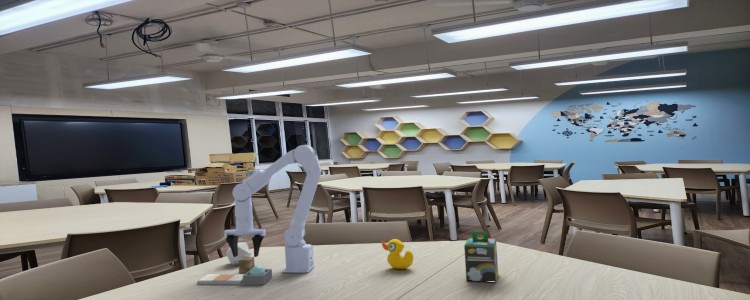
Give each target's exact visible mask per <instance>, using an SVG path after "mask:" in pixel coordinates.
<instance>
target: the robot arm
mask: <svg viewBox="0 0 750 300" xmlns="http://www.w3.org/2000/svg"><path fill="white" fill-rule="evenodd" d="M296 163H298V164H299V165H300V166H302V168H303V170H304V172H305V173H306V176H305V178H304V183H303V185H302V189H301V192H300V195H299V199H298V201H297V204H296V208H295V211H294V213H293V217H292V219H291V221H290V223H289V227H288V228H287V229H286V231H285V232H284V233H283V240H284V252H285V253H284V254H285V255H284V256H285V258H284V259H285V268H284V269H283V270H281V272H282V273H286V274H287V273H296V274H297V273H302V274H303V273H309V272H310V271H311V270H312V269H313V268H314V267H315V263H314V249H313V247H314V246H313V245H312V244H310V243H309V244H307V243H306V241H305V239H304V237H305V235H306V227H305V225H306V222H307V218H308V215H309V212H310V209H311V206H312V202H313V200H314V197H315V193H316V191H317V188H318V184H319V181H320V178H321V174H322V168H321V164H320V161H319V157H318V153H317V152H316V151H315V149H314V148H313V147H312V146H311V145H309V144H302V145H299V146H297V147H296V148H294V149H292V150H289V151H288V152H286V153H284V154H283V155H281V156H280V157H279V158H278V159H277V160H276V161H274V162H273V163H272V164H271V165H269V166H268V167H267V168H266V169H261V168H260V169H258V170H257V169H255V170H253V171H252V174H251V175H250V176H248V177H247V178H246V179H245V178H243V179H242V180H241V183H238V184H236V185H235V186H234V188H233V189H232V194H231V195H232V197H233V198H234V211H235V214H234V215H235V229H234V228H233V229H225V230H223V235H224V237H226V238H225V241H226V243H227V244H228V245H229V246H228V247H229V248H231V250H232V253H233V257H236V256H238V243H239V237H241V236H243V237H245V236H246V237H248V236H249V237H250V236H251V240H252V245H253V246H252V247H253V257H254V258H257V257H258V256H259V253H260V248H261V245H262V242H263V240H264V238H265V236H266V235H267V232H266V230H267V229H264V228H263V229H262V228H261V229H260V228H254V220H253V219H254V217H253V216H254V215H253V203H252V196H253V194H255V193H257V192H258V191H260V190H261V189H262V188H263V187H265V186H267V185H268V184H269V183H270V182H271V177H273V176H274V175H276V173H278V172H279V171H281V170H283V169H284V168H285V167H287V166H288V165H291V164H292V165H293V164H296Z"/></svg>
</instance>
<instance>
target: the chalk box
mask: <svg viewBox="0 0 750 300" xmlns="http://www.w3.org/2000/svg"><path fill="white" fill-rule="evenodd" d="M471 233H472V234H471V235H472V237H470V238H468V239H466V241H465V243H464V246H463V247H464V263H465V279H466V280H472V281H471V282H477V281H496V280H498V277H497V276H499V267H498V266H499V265H498V249H497V239H496V238H494V237H493V238H492V237H489V233H488V231H478V230H477V231H474V230H473V231H472V232H471ZM478 236H483V237H481V238H480V237H478ZM496 282H497V281H496Z"/></svg>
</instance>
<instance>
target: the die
mask: <svg viewBox="0 0 750 300" xmlns="http://www.w3.org/2000/svg"><path fill="white" fill-rule="evenodd" d="M225 255H226V257H227V259H228V261H229V263H230V265H231V266H239V262H238V260H239V259H241V258H243V257H251V255H252V252H251V249H250V248H249V245H248V243H247V242H246V241H245V242H244V241H243V242H238V256H236V257H233V253H232V250H231V248H230V247H228V249H227V250H226V252H225Z"/></svg>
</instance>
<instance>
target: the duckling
mask: <svg viewBox="0 0 750 300" xmlns="http://www.w3.org/2000/svg"><path fill="white" fill-rule="evenodd" d="M381 246H382V248H383V249H384V250H385V251H388V252H389V254H388V255H387V259H386V260H387V263H388V264H389V266H390V267H392V268H394V270H395V269H396V270H406V269H408V268H410V267H411V266H412V265H413V262H414V254H413V252H412V251H411V250H406V251H405V252H404V256H402V255H401V253H402V252H403V250H404V248H405V244H404V243H403V242H402V241H401V240H400V239H397V238H393V239H391V240H389V241H388V242H387V243H386V242H385V241H382V242H381Z"/></svg>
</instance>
